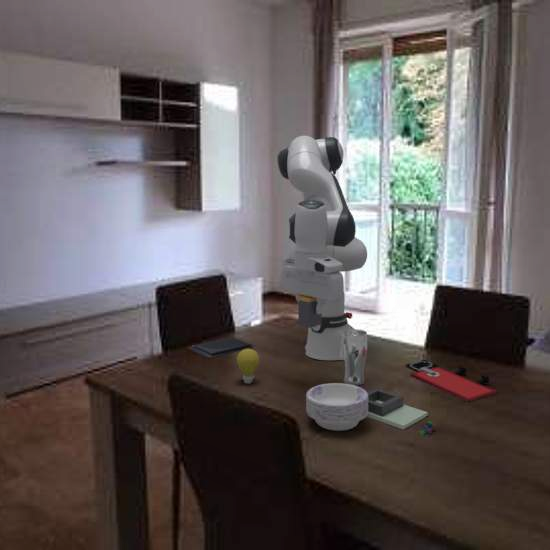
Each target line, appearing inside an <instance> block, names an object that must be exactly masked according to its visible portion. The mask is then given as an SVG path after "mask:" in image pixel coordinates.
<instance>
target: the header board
mask: <svg viewBox="0 0 550 550" xmlns="http://www.w3.org/2000/svg"><path fill="white" fill-rule="evenodd" d="M366 392H367V393H368V397H369V398H368V415H367V416H366V417H367V418H370V419H372V420H376V421H379V422H381V423H384V424H387V425H390V426H393V427H395V428H399V429H402V430H404V431H405V429H407V428H409V427H411V426H412V425H414V424H416V423H418V422H419V421H420V422H421V420H423V419H424V418H426V416H427V417H428V412H427V411H425V410H421V409H418V408H416V407H412V406H410V405H407V404H404V396H403V395H399V394H396V393H393V392H390V391H387V390H384V389H379V388H377V387H375V388H374V389H372V390H371V389H370V390H369V391H366Z"/></svg>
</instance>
